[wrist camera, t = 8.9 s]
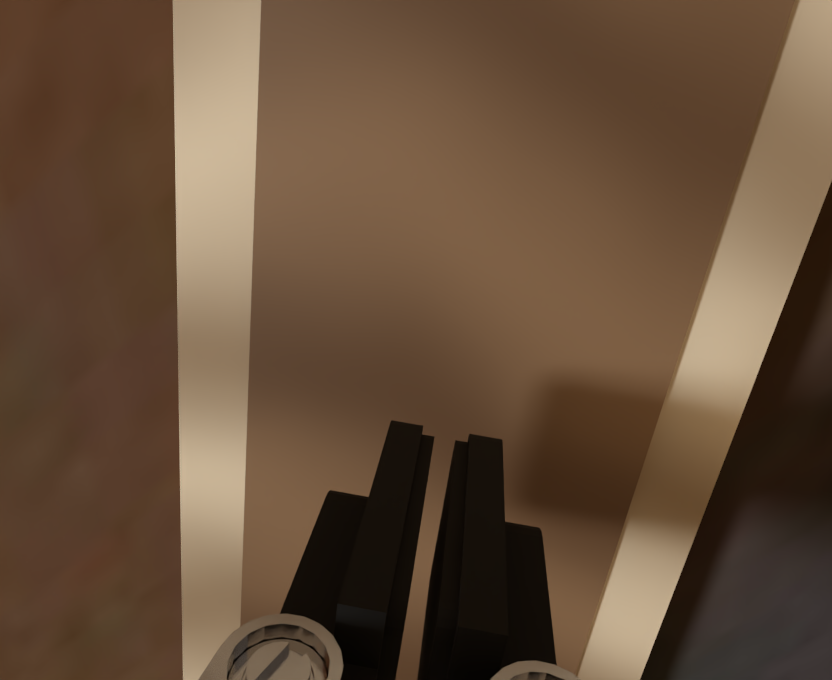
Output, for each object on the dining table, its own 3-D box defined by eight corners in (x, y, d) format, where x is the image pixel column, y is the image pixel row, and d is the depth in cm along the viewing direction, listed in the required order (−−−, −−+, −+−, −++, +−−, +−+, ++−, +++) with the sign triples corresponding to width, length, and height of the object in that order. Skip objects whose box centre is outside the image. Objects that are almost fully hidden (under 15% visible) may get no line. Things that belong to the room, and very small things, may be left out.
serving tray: (572, 797, 18) (590, 960, 15) (202, 723, 19) (139, 865, 16) (959, -275, 9) (1243, -486, 6) (204, -361, 10) (45, -601, 6)
